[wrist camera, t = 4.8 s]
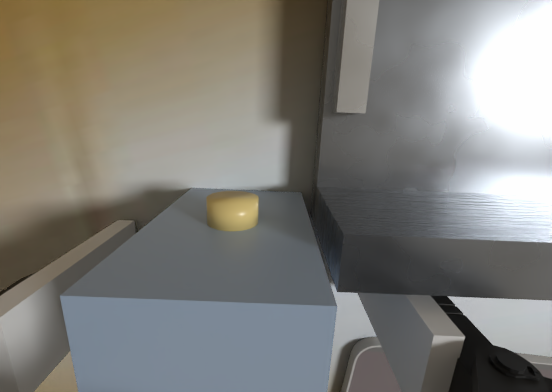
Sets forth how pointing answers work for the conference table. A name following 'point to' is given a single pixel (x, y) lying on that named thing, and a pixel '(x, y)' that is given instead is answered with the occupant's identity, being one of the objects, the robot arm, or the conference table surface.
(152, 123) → the conference table surface
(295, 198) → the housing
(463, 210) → the press bed
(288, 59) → the conference table surface
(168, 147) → the conference table surface
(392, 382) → the smartphone
